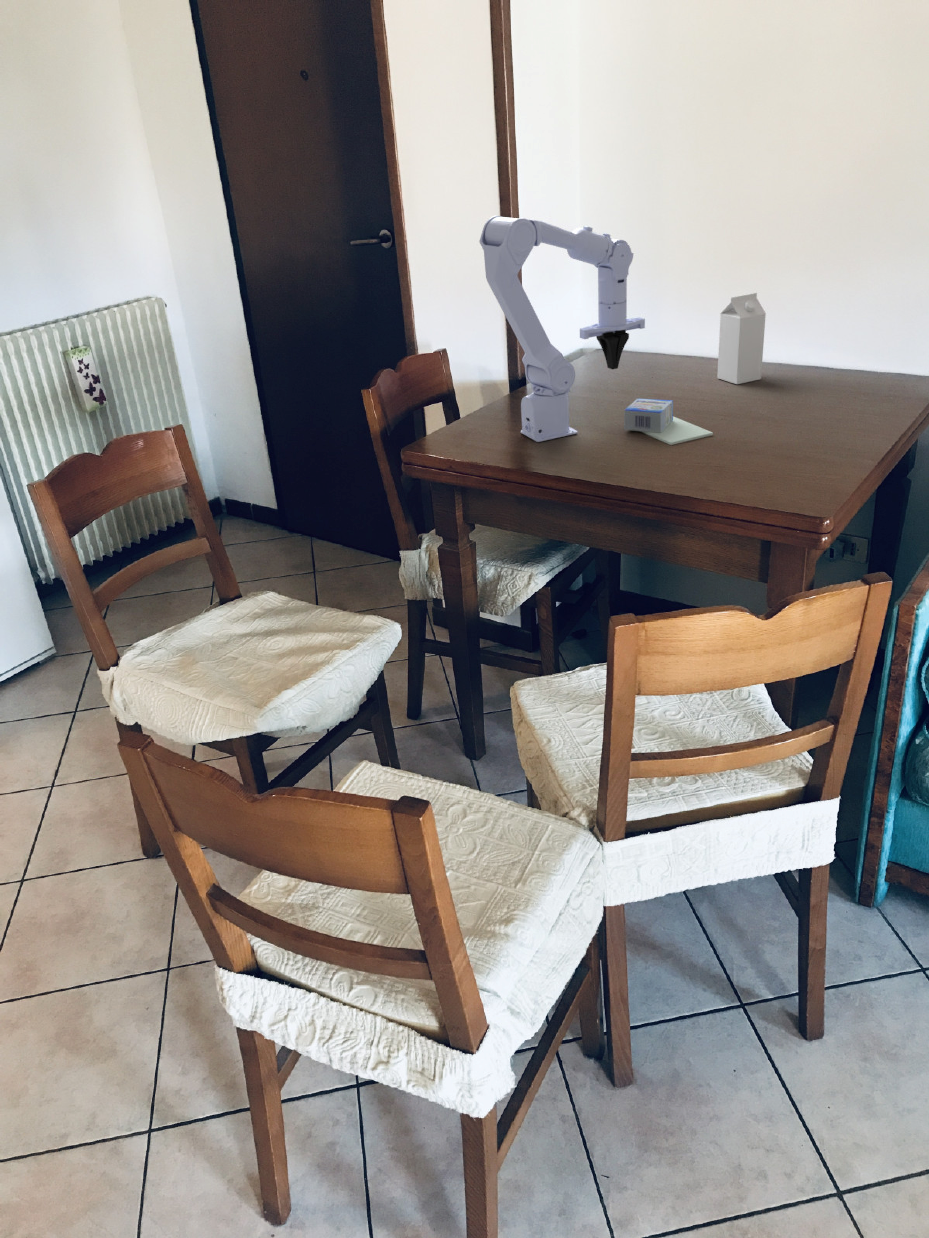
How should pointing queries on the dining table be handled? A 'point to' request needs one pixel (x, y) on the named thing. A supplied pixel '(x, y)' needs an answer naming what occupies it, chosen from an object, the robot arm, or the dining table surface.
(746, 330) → the milk carton
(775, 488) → the dining table surface
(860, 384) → the dining table surface
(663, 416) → the medicine box
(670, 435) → the mat
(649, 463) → the dining table surface
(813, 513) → the dining table surface
